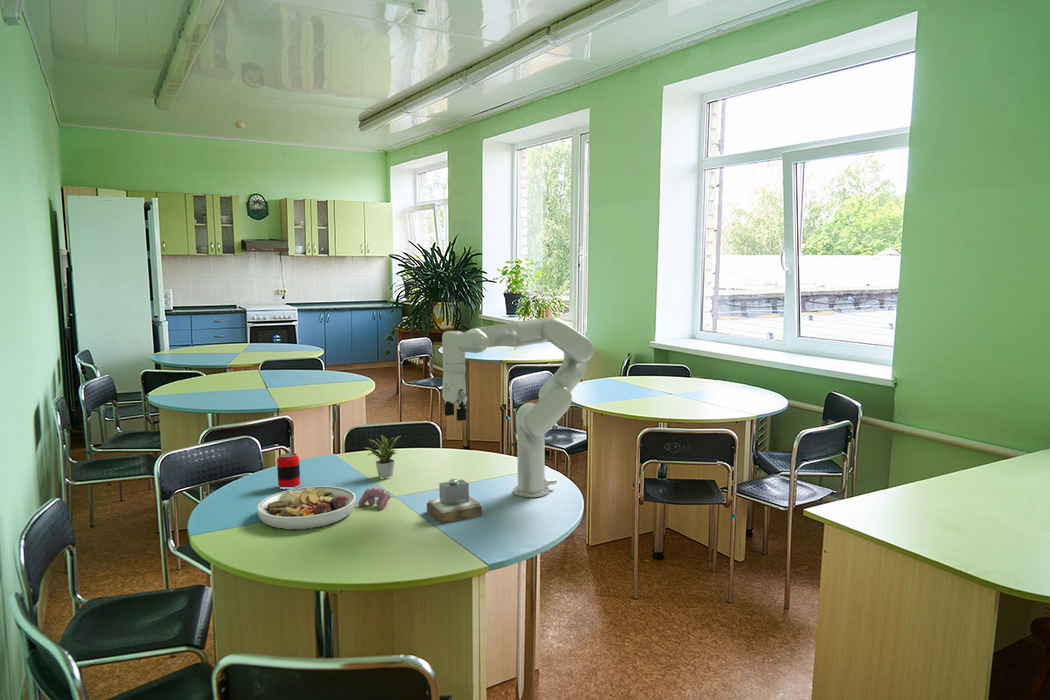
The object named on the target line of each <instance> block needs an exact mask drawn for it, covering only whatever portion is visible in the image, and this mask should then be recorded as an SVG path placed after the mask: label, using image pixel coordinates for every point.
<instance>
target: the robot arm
mask: <svg viewBox="0 0 1050 700" xmlns="http://www.w3.org/2000/svg"><path fill="white" fill-rule="evenodd" d="M441 335H442V337H441V339H442V341H441V343H442V344H441V345H442V346H441V347H442V387H441V388H442V391H441V393H442V395H441V396H442V399H443V400H444V415H445V416H446V417H448V416H454V415H455V405H456V421H457V422H460V421H461V422H462V421H466V420H467V405H468V396H467V388H466V387H467V385H466V377H465V376H466V375H465V373H466V353H473V354H480V353H483V352H484V351H486V350H487V349H488V348H494V347H510V348H513V347H514V348H518V347H525V346H531V345H537V344H544V343H551V345H554V346H555V347H556V348H558V349H559V350H560V351H562V352H563V361H562V363H561V365H560V366H559V367H558V369H557V371H556V372H554V373H553V375H552V376H551V377H550V378H549V379H548V380H547V381H546V382H545V383H544V384H542V386H541V387H540V389H539V391H538V401H537V403H534V402H527V403H524V404H522V405H521V406H519V408H518V409H517V410H516V415H515V425H516V426H515V427H516V440H517V441H516V443H517V444H516V445H517V446H516V447H517V485H516V486H514V488H513V490H512V491H513V494H514V495H516V496H518V497H522V498H541V497H544V496H546V495H548V494H549V493H550V488H549V486H550V485H556V484H557V482H558V481H557V479H556V478H551V479H550V478H549V477H545V474H546V473H545V469H546V468H545V467H546V466H545V448H546V447H545V444H546V443H545V434H546V433H548V432H549V431H550V430H551V429H552V428H553V427H554V426H555V425H556V424H557V423H558V422H559V421H560V419H561V418H562V417H563V416H564V415H565V414H566V413H567V412H568V410H569V409H570V407H571V405H572V401H573V397H572V391H573V390H574V389H575V387H576V386H577V385H578V384H579V383H580V382H581V380H582V379H583V377H584V375H585V372H586V369H587V362H588V361H589V360H590V359H592V357H593V356H594V353H595V346H594V343H593V341H591V340H590V339H589V338H588V337H587V336H585V335H584V334H582V333H581V332H579V331H578V330H576V329H574V327H572V326H571V325H570V324H568V323H567V322H565V321H564V320H562V319H560V318H558V317H553V316H547V317H541V318H534V319H529V320H528V319H527V320H521V321H520V320H519V321H514V322H508V323H503V324H496V325H490V326H489V325H487V326H481V327H475V328H470V329H468V330H467V331H465V332H463V331H459V330H451V331H450V330H449V331H448V330H447V331H445V332H443V333H442V334H441Z"/></svg>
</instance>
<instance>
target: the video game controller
mask: <svg viewBox="0 0 1050 700" xmlns="http://www.w3.org/2000/svg"><path fill="white" fill-rule="evenodd" d="M376 498H377V500H376ZM390 498H391V495H390V493H389V492H388V491H387V490H385V489H382V488H379V487H378V488H377V487H372V488H371V487H370V488H367V489H366V490H365V491H364V492H363V494H362V496H361V497H360V499H359V501H358V507H359V506H362V507H363V506H365V504H366V503H367V502H368V505H370V506H374V505H376V506H378V507H379V510H380V511H383V510H384V509H385V508H386V507H387V505H388V502H389V500H390Z"/></svg>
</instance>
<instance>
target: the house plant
mask: <svg viewBox="0 0 1050 700" xmlns="http://www.w3.org/2000/svg"><path fill="white" fill-rule="evenodd" d="M399 438H401V435H399V436H394V437H391V438H390V440H388V439H387V438H386V436H384V435H381V441H380V439H378V438H376V440H377V441H378V442H379V443H378V442H377V441H376V440H373V439H367V440H369V441H370V442H372V444H373V443H374V444H373V445H374V447H376V448H377V450H376V449H374V448H371V447H364V449H366V450H368V451H369V452H371V453H368V454H367V456H370V455H374V456H376V457H377V458H378V460H376V461H375V466H376V470H377V475H378V478H379V477H382V478H388V477H391V476H394V470H395V469H394V468H395V459H392V457H393V456H394V455H397V452H396V451H397V449H394V446H396V445H397V443H396V441H397V440H398V439H399ZM390 442H391V443H390ZM389 445H390V446H389Z"/></svg>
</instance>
